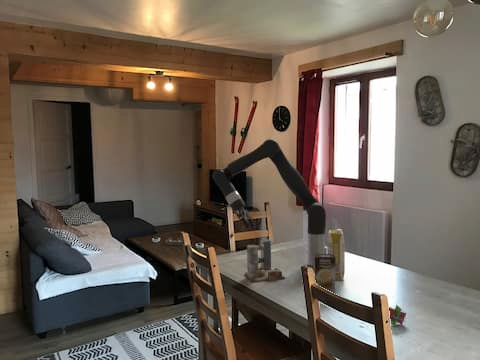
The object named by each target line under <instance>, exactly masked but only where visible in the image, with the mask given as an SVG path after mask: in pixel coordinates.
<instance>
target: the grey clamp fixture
mask: <svg viewBox="0 0 480 360" xmlns="http://www.w3.org/2000/svg"><path fill="white" fill-rule="evenodd" d="M271 243H272V241H271V240H270V239H268V238H264V239H260V245H264V250H260V257H258V265H259V264H260V268H261V270H264V271H265V270H268V269H269V270H272V253H271V252H272V244H271Z"/></svg>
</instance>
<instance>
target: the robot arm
mask: <svg viewBox="0 0 480 360" xmlns="http://www.w3.org/2000/svg"><path fill="white" fill-rule="evenodd" d="M265 159H269V160H270V161H272V163H273V164H274V165H275V167H276V169H277V172H278V174H279V175H280V177H281V179H282V181H283V182H284V184H285V185H286V187H288V189H289V191H290V192H291V193H292V194H293V195H294V196H295V197H296V198H297V199H298V201H300V203H301V205H302V206H303V208H304V210H305V211H306V212H305V213H306V214H307V265H308V266H310V267H313V261H314V253H315V254H327V246H326V227H327V226H326V225H327V224H326V221H327V218H326V215H327V214H326V209H325V207H324V206H323V205H322V204H321V203H320V202H319V201H318V200H317V199H316V198H315V196H314V195H313V194H312V192H311V190H310V188H309V187H308V185H307V183H306V181H305V179H304V178H303V176H302V175H301V174H300V172H299V171H298V170H297V168H296V167H295V165H293V164H292V163H291V161H290V160H289V159H288V158H287V157H286V155H285V153H284V152H283V150H282V148H281V145H280V144H279V142H278V141H277V140H275V139H272V138H269V139H266V140H265V141H264V142H263V143H262V144H261V145H259V146H257V148H256V149H254V150H252V151H251V152H249V153H247V154H245V155H243V156H241V157H238V158H237V159H235V160H233V161H231V162H230V163H228V164H227V166H226V167H225V168H222V169H221V168H217V169H214V170H213V172H212V174H211V176H212V180H213V181H214V182H215V184H216V185H217V187H218V188H219V189H220V191H221V192H222V194H223V196H224V198H225V200H226V201H227V203H228V205H229V206H230V209H231V210H232V212H233V213H235V215H236V216H237V218H238V220H239V221H240V222H241V223H243V225H244V228H245V229H249V228H251V229H252V228H254V227H256V225H255V223H254V221H253V217H252V215H251V214H250V212H249V210H248V209H245V207H246V203H245V201H244V200H243V198H242V197H241V195H240V193H239V192H238V191H237V189H236V188H235V186H234V184H233V183H232V182H230V179H232V178H233V177H234V176H236V175H238V174H240V173H242V172H244V171H245V170H247V169H248V168H250V167H252V166H253V165H255V164H256V163H258V162H260V161H262V160H265Z"/></svg>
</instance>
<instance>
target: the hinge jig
mask: <svg viewBox="0 0 480 360" xmlns="http://www.w3.org/2000/svg"><path fill="white" fill-rule="evenodd" d="M246 245H247V244H246ZM261 250H264V245H261V244H258V245H255V244H248V245H247V246H246V252H247V253H246V256H247V259H246V262H247V265H246V266H247V268H246V269H247V271H246V272H244V275H245V276H246V278H247V279H248V280H249V281H250V283H258V282H268V281H277V280H278V281H279V280H285V278H286V277H285V276H284V275H283V271H282V270H280V269H279V268H278V267H274V269H269V270H263V269H259V264H258V258H259V251H261Z"/></svg>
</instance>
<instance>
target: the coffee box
mask: <svg viewBox="0 0 480 360" xmlns="http://www.w3.org/2000/svg"><path fill="white" fill-rule="evenodd" d="M335 262H336V257H335V255H334V254H315V253H314V261H313V266H312V268H313V271H314V273H315V280H316V283H317V284H318V285H319V286H321V287H323V288H325V289H327V290H329V291H331V292H333V293H332V294H336V281H335ZM313 271H312V272H313Z"/></svg>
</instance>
